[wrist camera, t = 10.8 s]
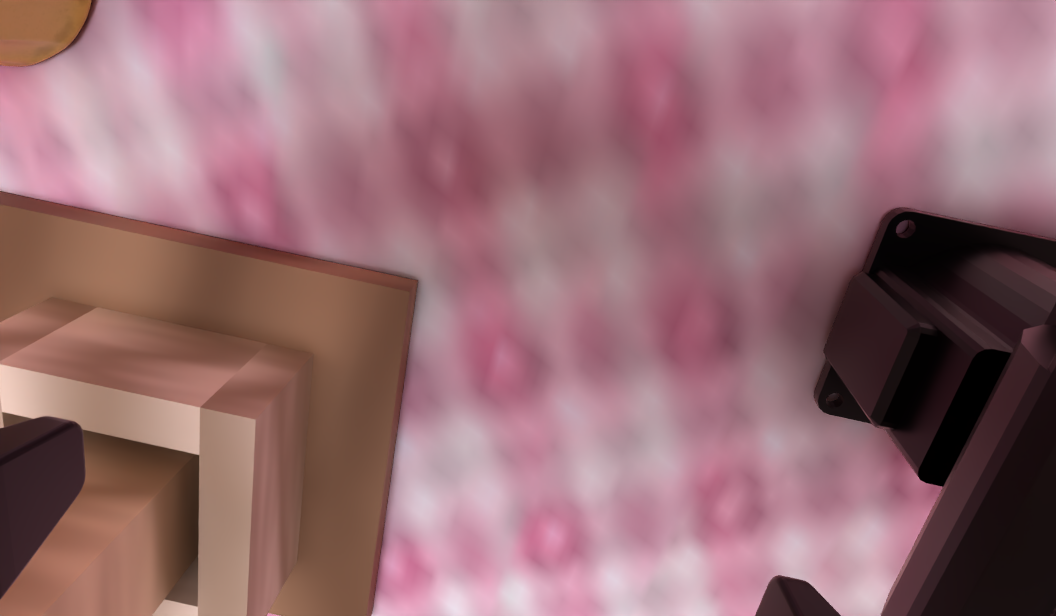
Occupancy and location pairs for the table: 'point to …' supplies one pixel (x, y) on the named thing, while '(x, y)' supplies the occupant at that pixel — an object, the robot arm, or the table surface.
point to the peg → (116, 535)
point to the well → (219, 390)
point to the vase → (38, 28)
